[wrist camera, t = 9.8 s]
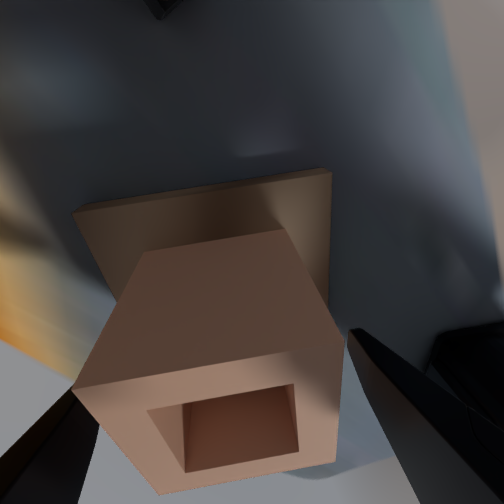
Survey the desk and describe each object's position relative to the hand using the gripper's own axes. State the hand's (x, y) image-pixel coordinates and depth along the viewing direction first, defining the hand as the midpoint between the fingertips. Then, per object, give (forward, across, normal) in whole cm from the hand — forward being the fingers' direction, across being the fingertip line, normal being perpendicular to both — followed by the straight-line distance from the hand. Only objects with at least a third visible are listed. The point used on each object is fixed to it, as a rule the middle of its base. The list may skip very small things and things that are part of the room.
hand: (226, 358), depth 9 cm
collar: (+4, 0, 0) cm, 4 cm away
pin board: (+5, 0, 0) cm, 5 cm away
